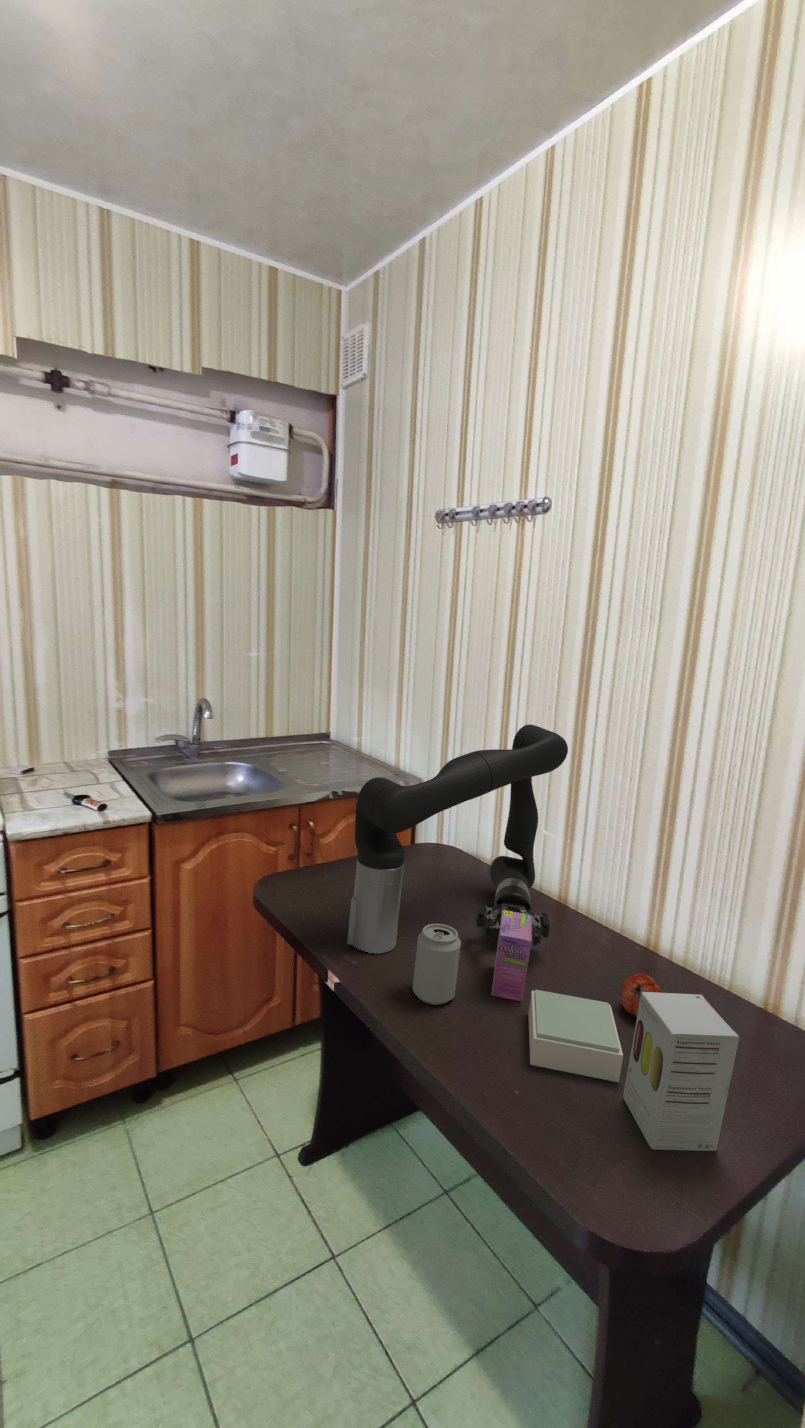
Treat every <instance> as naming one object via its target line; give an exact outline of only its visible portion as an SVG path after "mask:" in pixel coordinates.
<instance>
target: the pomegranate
mask: <svg viewBox="0 0 805 1428" xmlns="http://www.w3.org/2000/svg"><path fill="white" fill-rule="evenodd" d="M642 992H656V993H665V992H664V990H663V989H662V988H661V987H660V985H659V983H658V982H657V980H656V979H655V978H654V977H652V976H651V975H649V974H644V973H637V974H635V975H632V976H628V977H627V978H625V980H624V981H623V983H622V985H621V989H620V991H619V995H620V1003H621V1004H622V1006H623V1008H624V1009H625V1010H626V1011H627V1013H629V1014H631V1015H634V1016H635V1017H636V1018H637V1015H638V1009H639V1003H640V997H641V993H642Z"/></svg>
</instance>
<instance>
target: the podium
mask: <svg viewBox="0 0 805 1428" xmlns="http://www.w3.org/2000/svg"><path fill="white" fill-rule="evenodd" d="M527 1015H528V1016H527V1017H528V1039H529V1040H528V1042H529V1043H528V1044H529V1045H528V1046H529V1064H530V1066H534V1067H539V1068H546V1069H550V1070H555V1071H560V1072H564V1073H569V1074H570V1073H571V1074H575V1075H580V1076H586V1077H590V1078H594V1079H600V1080H606V1081H609V1082H614V1083H619V1082H620V1078H621V1071H622V1065H623V1061H624V1060H623V1059H624V1053H623V1050H622V1045H621V1042H620V1038H619V1037H620V1036H619V1034H618V1030H617V1025H616V1021H615V1018H614V1017H615V1016H614V1012H613V1009H612V1005H611V1004H609V1002H605V1001H600V1000H595V999H590V998H585V997H584V998H583V997H578V996H573V995H568V994H562V993H557V992H551V991H545V990H541V989H534V990H531V993H530V1001H529V1007H528V1014H527Z"/></svg>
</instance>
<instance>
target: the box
mask: <svg viewBox="0 0 805 1428" xmlns="http://www.w3.org/2000/svg"><path fill="white" fill-rule="evenodd" d="M532 943H533V940H532V916H531V915H528V914H523V913H517V912H512V911H507V910H502V915H501V923H500V928H499V931H498V939H497V946H496V953H495V961H494V970H493V977H492V987H491V993H490V994H491V996H492V997H497V998H501V999H506V1000H509V1001H515V1002H524V1001H523V1000H524V994H525V986H526V979H527V973H528V967H529V960H530V954H531V953H530V952H531V949H532Z"/></svg>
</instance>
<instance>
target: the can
mask: <svg viewBox="0 0 805 1428" xmlns="http://www.w3.org/2000/svg"><path fill="white" fill-rule="evenodd" d="M461 945H462V941H461V939H460V938H459V933H458V931H457V930H456V929H455V928H453V927H452V926H451V925H447V924H444V923H443V924H442V923H429V924H428V925H425V926H424V927H423V928H422V929H421V933H419V934H418V937H417V943H416V953H415V963H414V973H413V982H412V991H413V993H414V994H415V996H416V997H417V998H418V999H419V1000H420V1001H421V1002H423V1003H426V1004H428V1005H433V1006H439V1005H444V1004H446V1003H448V1002H450V1001H451V1000H453V999H454V998H455V995H456V988H457V979H458V971H459V963H460V962H459V961H460V953H461V952H460V951H461Z"/></svg>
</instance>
